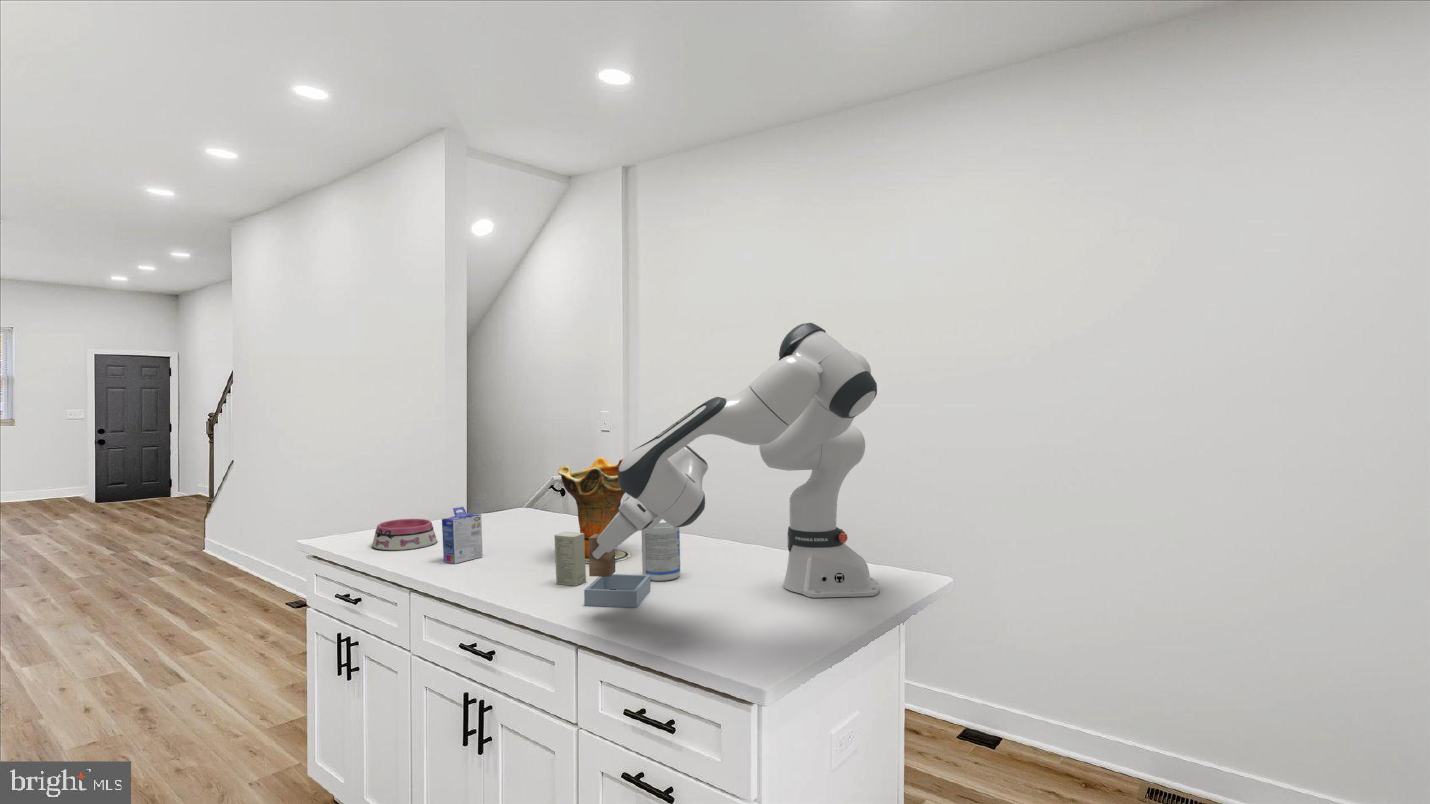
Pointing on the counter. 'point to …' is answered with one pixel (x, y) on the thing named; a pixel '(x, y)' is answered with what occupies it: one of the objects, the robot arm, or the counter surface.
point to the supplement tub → (661, 552)
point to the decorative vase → (595, 498)
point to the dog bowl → (404, 535)
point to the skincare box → (570, 558)
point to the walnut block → (600, 560)
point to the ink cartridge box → (462, 537)
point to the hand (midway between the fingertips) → (599, 553)
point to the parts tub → (617, 590)
